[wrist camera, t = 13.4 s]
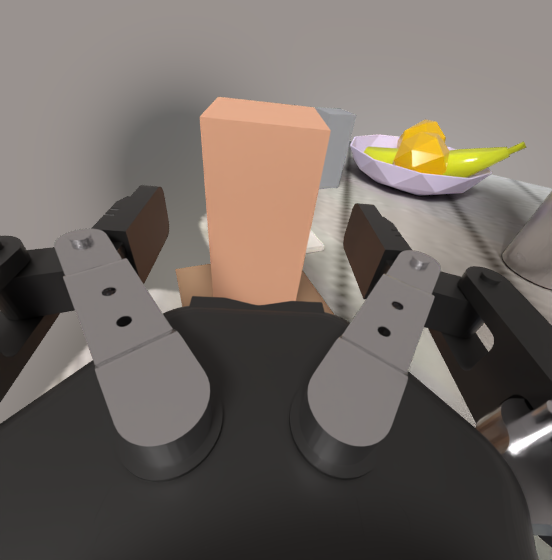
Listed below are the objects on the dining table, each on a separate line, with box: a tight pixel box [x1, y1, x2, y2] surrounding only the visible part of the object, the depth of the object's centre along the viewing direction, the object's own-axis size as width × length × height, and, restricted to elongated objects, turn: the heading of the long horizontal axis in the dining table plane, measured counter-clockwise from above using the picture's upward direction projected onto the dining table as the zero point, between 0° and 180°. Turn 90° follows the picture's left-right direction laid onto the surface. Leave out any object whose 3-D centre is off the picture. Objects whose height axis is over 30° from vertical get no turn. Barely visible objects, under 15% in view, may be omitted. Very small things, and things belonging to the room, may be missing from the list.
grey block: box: [315, 107, 356, 189], centre depth 49 cm, size 5×5×12 cm
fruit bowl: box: [350, 120, 526, 196], centre depth 54 cm, size 28×27×11 cm
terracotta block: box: [200, 97, 331, 305], centre depth 16 cm, size 5×5×12 cm
